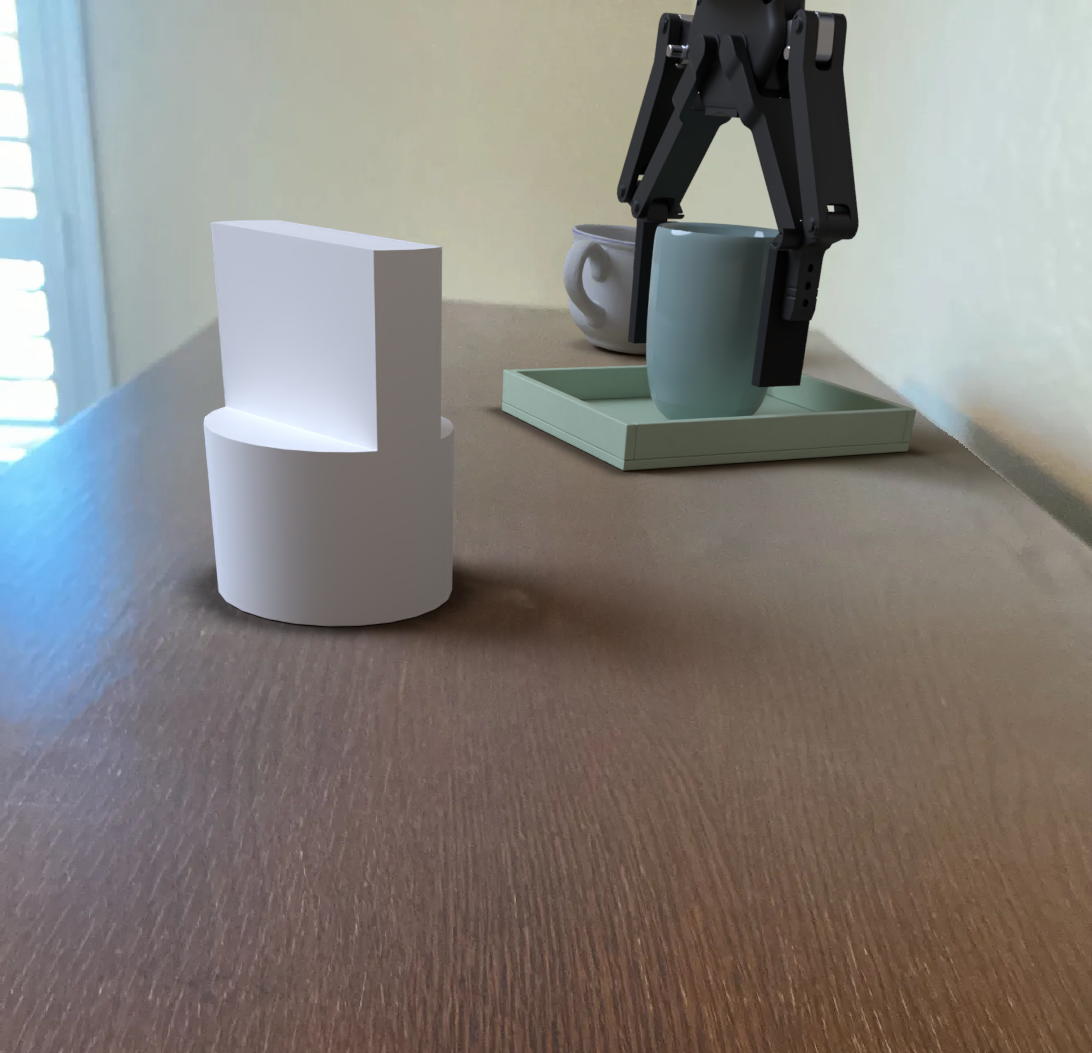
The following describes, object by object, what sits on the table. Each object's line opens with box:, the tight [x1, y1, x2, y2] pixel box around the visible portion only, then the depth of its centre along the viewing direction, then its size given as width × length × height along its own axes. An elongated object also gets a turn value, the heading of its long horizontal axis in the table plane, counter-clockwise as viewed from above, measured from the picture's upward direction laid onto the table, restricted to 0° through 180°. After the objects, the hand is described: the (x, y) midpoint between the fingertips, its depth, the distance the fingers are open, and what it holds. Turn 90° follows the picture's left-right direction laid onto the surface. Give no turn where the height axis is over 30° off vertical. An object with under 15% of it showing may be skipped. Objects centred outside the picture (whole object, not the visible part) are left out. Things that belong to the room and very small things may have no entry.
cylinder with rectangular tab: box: [203, 219, 455, 627], centre depth 47 cm, size 9×9×12 cm
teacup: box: [562, 223, 646, 356], centre depth 98 cm, size 14×11×8 cm
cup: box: [645, 221, 779, 420], centre depth 75 cm, size 8×8×10 cm
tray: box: [501, 364, 917, 472], centre depth 77 cm, size 19×15×2 cm
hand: (708, 363), depth 76 cm, fingers open, 13 cm apart
